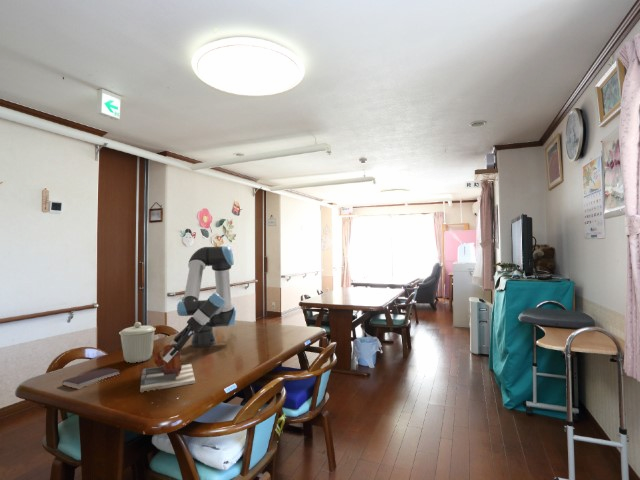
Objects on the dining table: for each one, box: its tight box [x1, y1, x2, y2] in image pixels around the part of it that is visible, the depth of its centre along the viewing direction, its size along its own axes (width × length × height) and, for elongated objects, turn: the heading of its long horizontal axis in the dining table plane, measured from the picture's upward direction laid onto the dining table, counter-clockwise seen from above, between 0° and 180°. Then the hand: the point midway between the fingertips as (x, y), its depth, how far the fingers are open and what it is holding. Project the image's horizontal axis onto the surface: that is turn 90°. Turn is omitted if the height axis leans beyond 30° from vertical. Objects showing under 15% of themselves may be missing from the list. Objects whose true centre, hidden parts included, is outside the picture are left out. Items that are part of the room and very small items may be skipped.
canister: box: [118, 321, 156, 364], centre depth 193 cm, size 18×18×21 cm
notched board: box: [139, 363, 196, 393], centre depth 164 cm, size 26×22×4 cm
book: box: [62, 367, 121, 387], centre depth 164 cm, size 12×19×3 cm, turn 153°
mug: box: [152, 342, 182, 376], centre depth 164 cm, size 15×8×15 cm, turn 75°
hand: (165, 356), depth 163 cm, fingers open, 13 cm apart
